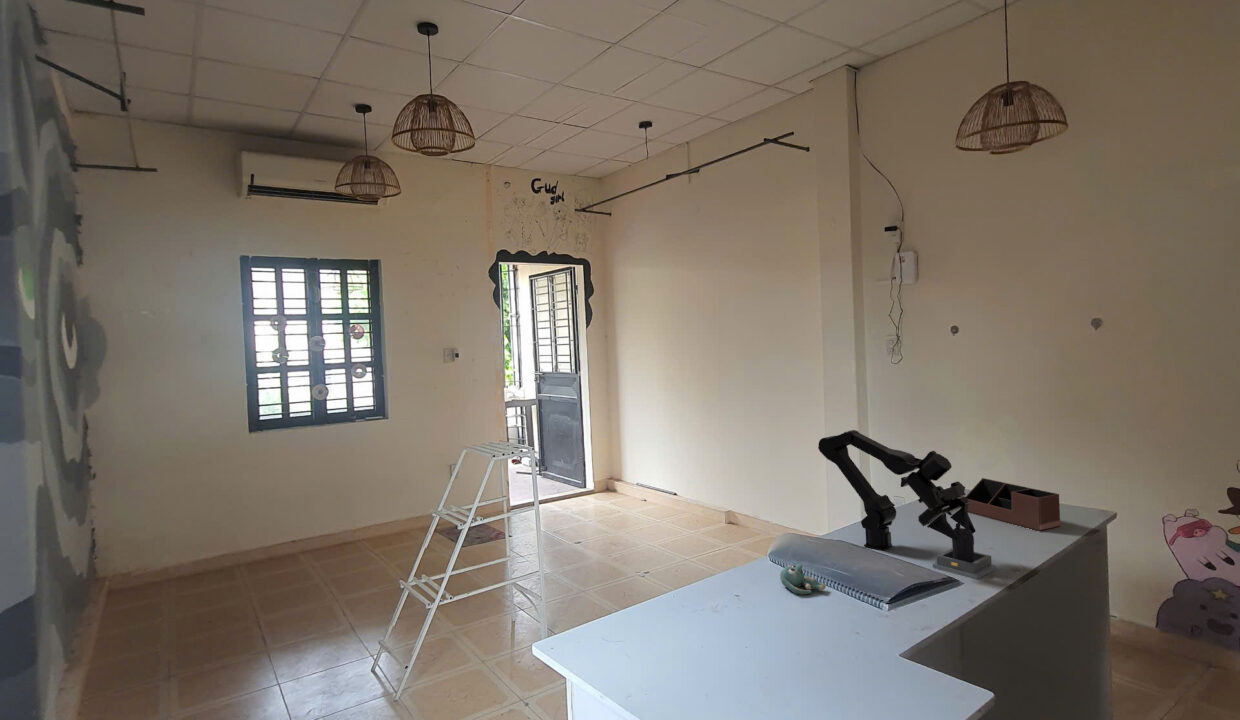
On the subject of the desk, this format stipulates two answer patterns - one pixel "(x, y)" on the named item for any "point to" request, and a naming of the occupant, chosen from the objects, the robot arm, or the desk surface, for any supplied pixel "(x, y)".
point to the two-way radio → (963, 543)
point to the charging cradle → (965, 564)
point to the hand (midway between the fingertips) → (966, 536)
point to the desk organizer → (1015, 505)
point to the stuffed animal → (799, 580)
